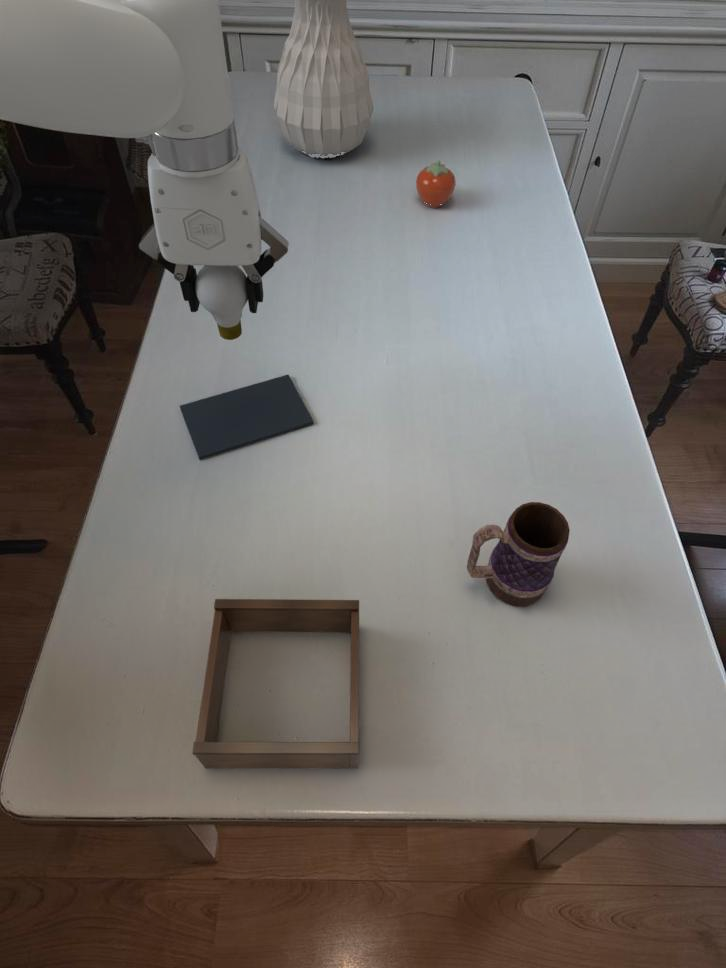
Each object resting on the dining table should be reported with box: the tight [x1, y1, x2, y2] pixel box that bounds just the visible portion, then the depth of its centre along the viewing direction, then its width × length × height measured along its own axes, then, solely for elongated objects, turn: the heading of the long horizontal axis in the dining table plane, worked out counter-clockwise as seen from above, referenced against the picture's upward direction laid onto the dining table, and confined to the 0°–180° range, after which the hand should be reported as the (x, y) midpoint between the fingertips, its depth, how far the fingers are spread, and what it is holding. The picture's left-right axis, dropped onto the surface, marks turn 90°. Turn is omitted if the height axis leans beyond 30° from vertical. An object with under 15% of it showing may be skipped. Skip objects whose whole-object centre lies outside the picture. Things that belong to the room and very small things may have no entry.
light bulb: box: [195, 265, 248, 341], centre depth 71 cm, size 6×6×10 cm
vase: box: [273, 0, 374, 158], centre depth 120 cm, size 20×20×30 cm
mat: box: [179, 374, 315, 461], centre depth 86 cm, size 16×10×1 cm, turn 114°
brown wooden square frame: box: [191, 598, 360, 769], centre depth 62 cm, size 15×15×6 cm
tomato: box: [415, 159, 457, 209], centre depth 117 cm, size 7×7×8 cm
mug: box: [466, 501, 571, 607], centre depth 68 cm, size 10×7×12 cm
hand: (225, 303), depth 71 cm, fingers closed on light bulb, 6 cm apart
